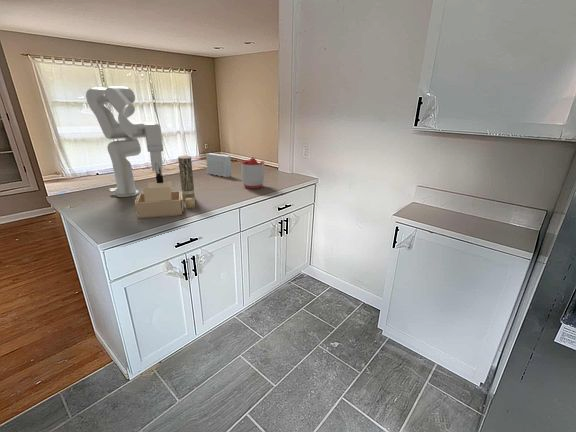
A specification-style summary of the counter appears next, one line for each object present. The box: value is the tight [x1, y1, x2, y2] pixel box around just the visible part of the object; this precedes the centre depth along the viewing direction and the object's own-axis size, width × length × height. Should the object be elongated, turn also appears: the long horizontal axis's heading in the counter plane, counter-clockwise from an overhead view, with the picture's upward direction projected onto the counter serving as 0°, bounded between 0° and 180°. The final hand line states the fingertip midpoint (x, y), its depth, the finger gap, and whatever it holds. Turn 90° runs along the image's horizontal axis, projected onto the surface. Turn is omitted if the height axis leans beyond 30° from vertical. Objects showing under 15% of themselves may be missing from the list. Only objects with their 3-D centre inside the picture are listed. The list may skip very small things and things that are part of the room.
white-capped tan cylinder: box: [184, 197, 196, 210], centre depth 159 cm, size 5×5×5 cm
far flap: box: [147, 180, 173, 192], centre depth 159 cm, size 12×1×6 cm
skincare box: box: [205, 152, 232, 178], centre depth 226 cm, size 21×5×16 cm, turn 58°
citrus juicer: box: [240, 157, 265, 190], centre depth 198 cm, size 16×17×20 cm
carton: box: [134, 190, 184, 220], centre depth 152 cm, size 22×16×8 cm
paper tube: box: [177, 155, 196, 201], centre depth 168 cm, size 7×7×25 cm
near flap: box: [143, 187, 172, 202], centre depth 143 cm, size 12×1×6 cm, turn 109°
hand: (160, 182), depth 159 cm, fingers closed
